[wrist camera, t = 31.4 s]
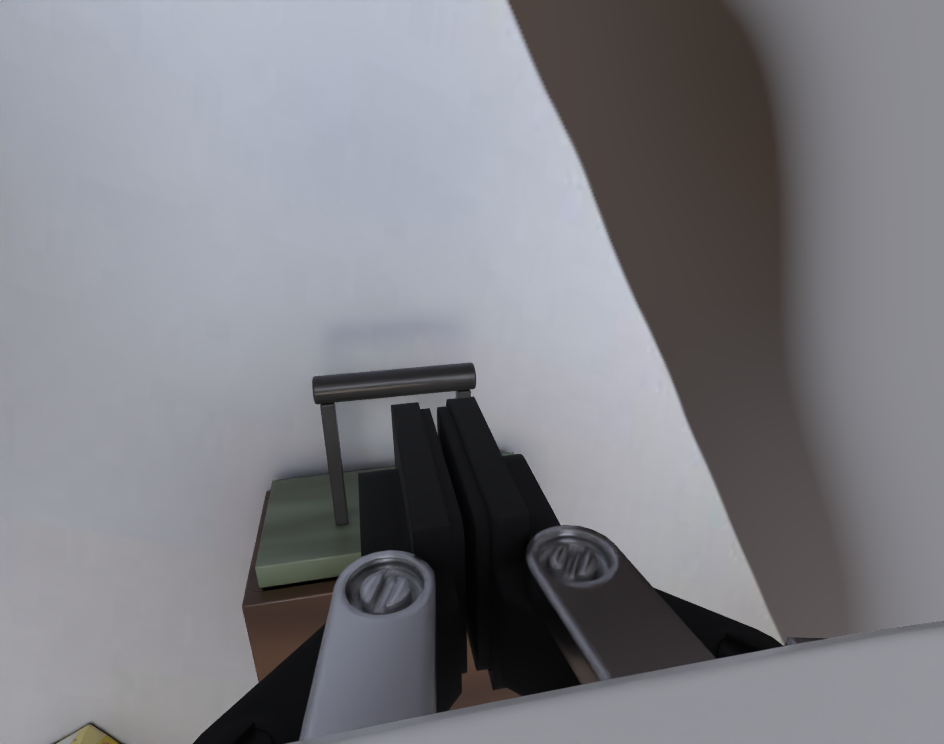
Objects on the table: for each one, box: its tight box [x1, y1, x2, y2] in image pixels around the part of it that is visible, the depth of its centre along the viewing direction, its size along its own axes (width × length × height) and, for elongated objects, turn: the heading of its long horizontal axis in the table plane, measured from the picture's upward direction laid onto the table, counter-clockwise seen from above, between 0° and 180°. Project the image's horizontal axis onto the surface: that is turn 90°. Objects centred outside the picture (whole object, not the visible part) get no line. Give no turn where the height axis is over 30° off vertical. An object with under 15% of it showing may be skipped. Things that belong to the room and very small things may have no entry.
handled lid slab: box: [255, 363, 514, 588], centre depth 30 cm, size 21×13×7 cm, turn 0°
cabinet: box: [242, 491, 522, 711], centre depth 33 cm, size 15×15×9 cm
